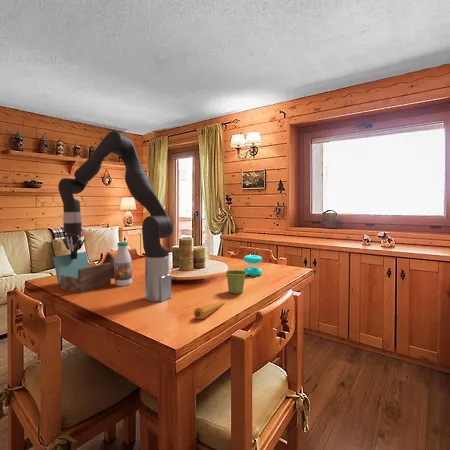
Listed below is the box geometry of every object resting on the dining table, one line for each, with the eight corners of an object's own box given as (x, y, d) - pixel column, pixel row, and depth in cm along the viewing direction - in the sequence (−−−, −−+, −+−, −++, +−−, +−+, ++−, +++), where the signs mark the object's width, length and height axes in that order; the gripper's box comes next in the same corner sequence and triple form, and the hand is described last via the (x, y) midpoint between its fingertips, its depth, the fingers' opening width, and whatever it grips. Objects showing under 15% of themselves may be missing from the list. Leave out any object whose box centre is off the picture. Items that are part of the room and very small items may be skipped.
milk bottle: (111, 284, 143) (110, 242, 141) (126, 281, 149) (126, 240, 147) (119, 287, 138) (119, 243, 136) (135, 284, 143) (134, 242, 142)
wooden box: (110, 284, 143) (110, 263, 142) (80, 293, 129) (80, 269, 128) (89, 280, 150) (88, 260, 149) (58, 288, 135) (57, 266, 135)
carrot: (200, 323, 99) (205, 311, 98) (189, 316, 101) (195, 304, 100) (227, 310, 117) (232, 300, 116) (218, 304, 118) (222, 294, 118)
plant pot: (221, 290, 134) (221, 270, 133) (240, 288, 138) (240, 269, 137) (230, 296, 125) (230, 275, 125) (250, 293, 129) (250, 273, 129)
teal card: (91, 275, 149) (85, 251, 149) (60, 283, 135) (54, 256, 135) (87, 276, 150) (82, 252, 151) (56, 283, 136) (51, 257, 136)
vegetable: (114, 285, 153) (113, 258, 148) (96, 281, 155) (94, 254, 150) (125, 275, 163) (124, 250, 158) (108, 272, 165) (106, 246, 159)
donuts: (243, 254, 169) (261, 254, 169) (243, 272, 170) (261, 272, 169) (244, 257, 159) (263, 257, 159) (243, 276, 160) (262, 276, 159)
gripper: (89, 221, 141) (90, 258, 142) (70, 221, 147) (72, 256, 148) (74, 222, 134) (76, 261, 135) (55, 222, 140) (57, 259, 141)
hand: (74, 258), depth 142 cm, fingers closed
